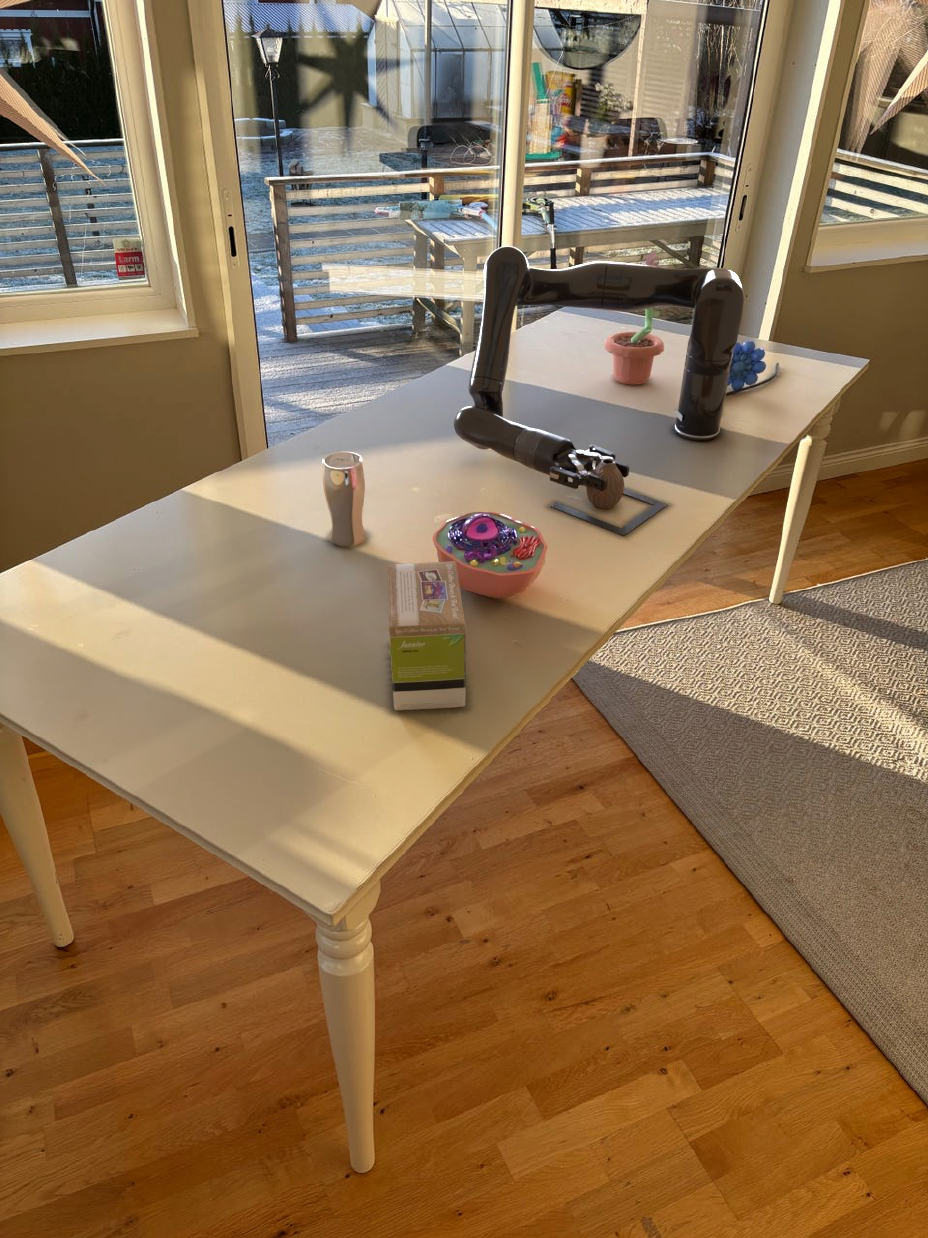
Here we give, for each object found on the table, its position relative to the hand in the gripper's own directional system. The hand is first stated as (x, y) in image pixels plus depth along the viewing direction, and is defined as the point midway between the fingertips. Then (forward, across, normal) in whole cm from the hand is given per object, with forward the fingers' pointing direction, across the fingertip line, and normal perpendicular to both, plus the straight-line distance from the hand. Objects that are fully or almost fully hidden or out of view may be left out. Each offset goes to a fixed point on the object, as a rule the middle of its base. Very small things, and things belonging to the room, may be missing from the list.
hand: (617, 478), depth 168 cm
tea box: (+7, -59, +6) cm, 60 cm away
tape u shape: (-1, 0, +6) cm, 6 cm away
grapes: (-10, +68, +6) cm, 69 cm away
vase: (-2, 0, +6) cm, 7 cm away
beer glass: (-29, -40, +6) cm, 50 cm away
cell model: (-1, -35, +6) cm, 35 cm away
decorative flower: (-32, +57, +6) cm, 66 cm away
